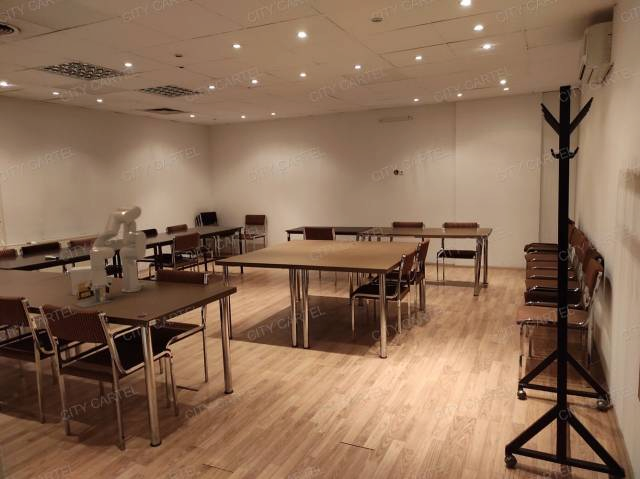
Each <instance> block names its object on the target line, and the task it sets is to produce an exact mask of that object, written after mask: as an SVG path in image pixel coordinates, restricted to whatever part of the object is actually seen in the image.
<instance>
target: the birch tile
mask: <svg viewBox="0 0 640 479" xmlns="http://www.w3.org/2000/svg"><path fill="white" fill-rule="evenodd" d="M94 297H95V299H96V301H99V302H104V301H106V300H107V299H106V288H103V287H102V288H95V293H94ZM105 299H106V300H105Z"/></svg>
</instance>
